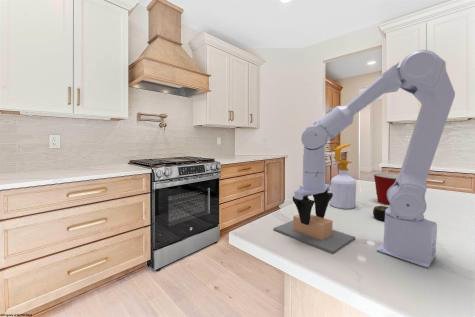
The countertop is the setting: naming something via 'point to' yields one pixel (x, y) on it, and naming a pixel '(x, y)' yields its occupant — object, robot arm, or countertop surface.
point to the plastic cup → (383, 185)
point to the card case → (314, 227)
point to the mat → (328, 244)
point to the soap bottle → (343, 185)
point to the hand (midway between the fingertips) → (312, 220)
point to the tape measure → (379, 212)
